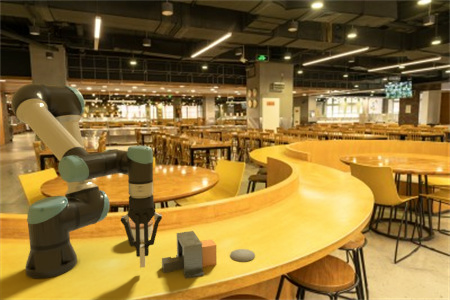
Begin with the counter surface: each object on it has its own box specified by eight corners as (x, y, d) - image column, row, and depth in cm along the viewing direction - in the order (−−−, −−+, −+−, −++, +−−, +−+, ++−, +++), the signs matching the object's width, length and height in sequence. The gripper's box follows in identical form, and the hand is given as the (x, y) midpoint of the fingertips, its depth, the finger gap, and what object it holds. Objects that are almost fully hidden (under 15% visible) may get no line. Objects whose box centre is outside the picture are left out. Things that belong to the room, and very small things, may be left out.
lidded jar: (155, 234, 129) (155, 213, 127) (150, 245, 118) (149, 222, 117) (130, 235, 128) (129, 214, 127) (123, 246, 118) (122, 223, 116)
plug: (161, 266, 101) (161, 246, 101) (212, 257, 107) (212, 239, 107) (164, 273, 97) (163, 253, 96) (216, 264, 103) (216, 244, 102)
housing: (176, 257, 108) (175, 231, 107) (192, 254, 110) (191, 228, 109) (185, 278, 94) (185, 249, 92) (204, 275, 96) (203, 246, 95)
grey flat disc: (226, 252, 111) (226, 251, 111) (248, 248, 115) (248, 247, 115) (236, 263, 103) (235, 262, 103) (259, 259, 106) (259, 257, 106)
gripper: (117, 199, 89) (120, 273, 92) (162, 197, 91) (163, 269, 94) (121, 192, 96) (123, 261, 99) (162, 191, 99) (163, 257, 102)
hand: (142, 265), depth 97 cm, fingers closed
